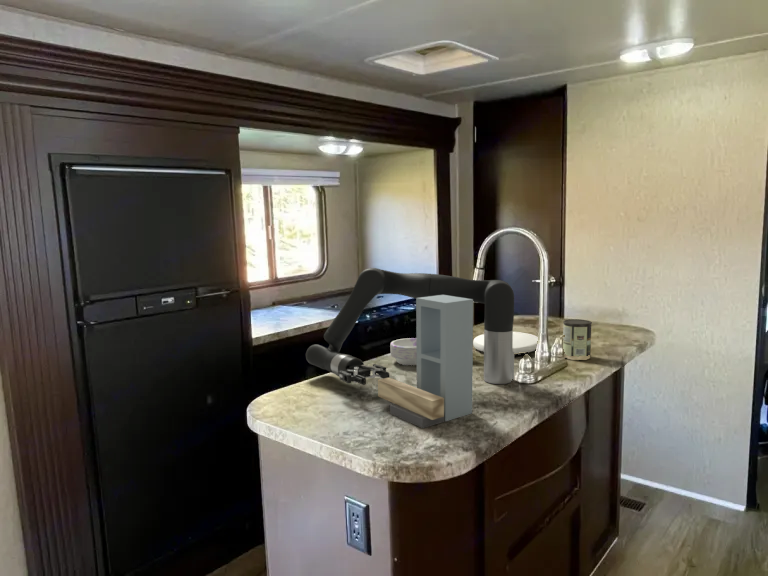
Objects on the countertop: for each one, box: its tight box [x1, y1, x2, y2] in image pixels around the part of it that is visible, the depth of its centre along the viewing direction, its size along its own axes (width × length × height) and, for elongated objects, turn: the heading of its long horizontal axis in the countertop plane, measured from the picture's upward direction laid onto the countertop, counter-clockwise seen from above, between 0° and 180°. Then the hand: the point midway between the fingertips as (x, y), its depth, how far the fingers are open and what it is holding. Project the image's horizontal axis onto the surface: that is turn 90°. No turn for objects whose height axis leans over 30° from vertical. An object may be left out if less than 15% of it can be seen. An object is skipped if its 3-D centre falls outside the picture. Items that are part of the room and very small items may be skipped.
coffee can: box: [562, 318, 593, 357], centre depth 214 cm, size 10×10×14 cm
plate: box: [473, 331, 539, 353], centre depth 229 cm, size 28×6×27 cm
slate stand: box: [415, 295, 474, 422], centre depth 156 cm, size 10×12×32 cm
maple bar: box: [377, 377, 444, 420], centre depth 155 cm, size 4×24×5 cm, turn 36°
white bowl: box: [389, 337, 417, 367], centre depth 210 cm, size 15×15×8 cm
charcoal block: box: [389, 403, 445, 429], centre depth 153 cm, size 8×14×2 cm, turn 36°
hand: (376, 378), depth 166 cm, fingers open, 8 cm apart
